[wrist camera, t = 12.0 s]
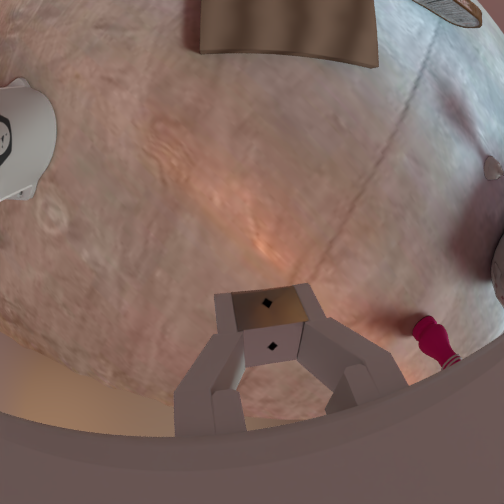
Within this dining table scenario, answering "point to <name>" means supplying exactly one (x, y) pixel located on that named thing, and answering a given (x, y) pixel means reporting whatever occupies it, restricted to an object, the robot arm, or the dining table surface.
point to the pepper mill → (435, 342)
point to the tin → (455, 11)
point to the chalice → (492, 169)
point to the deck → (292, 29)
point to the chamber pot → (498, 271)
